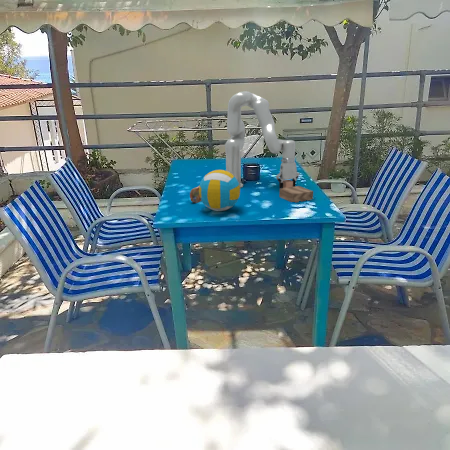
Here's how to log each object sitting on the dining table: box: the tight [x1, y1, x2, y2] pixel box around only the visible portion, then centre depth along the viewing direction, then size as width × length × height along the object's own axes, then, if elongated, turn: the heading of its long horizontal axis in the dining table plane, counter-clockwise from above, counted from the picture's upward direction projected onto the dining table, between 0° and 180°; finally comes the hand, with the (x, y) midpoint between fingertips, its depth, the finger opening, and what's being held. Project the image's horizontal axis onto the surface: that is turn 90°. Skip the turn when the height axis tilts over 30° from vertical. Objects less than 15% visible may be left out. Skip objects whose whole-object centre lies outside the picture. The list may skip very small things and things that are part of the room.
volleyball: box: [198, 169, 241, 212], centre depth 220 cm, size 22×22×22 cm
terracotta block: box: [282, 179, 293, 188], centre depth 261 cm, size 5×5×6 cm
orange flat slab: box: [189, 185, 202, 204], centre depth 240 cm, size 15×3×8 cm, turn 148°
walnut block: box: [279, 185, 314, 203], centre depth 244 cm, size 14×14×5 cm
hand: (287, 187), depth 262 cm, fingers open, 9 cm apart
